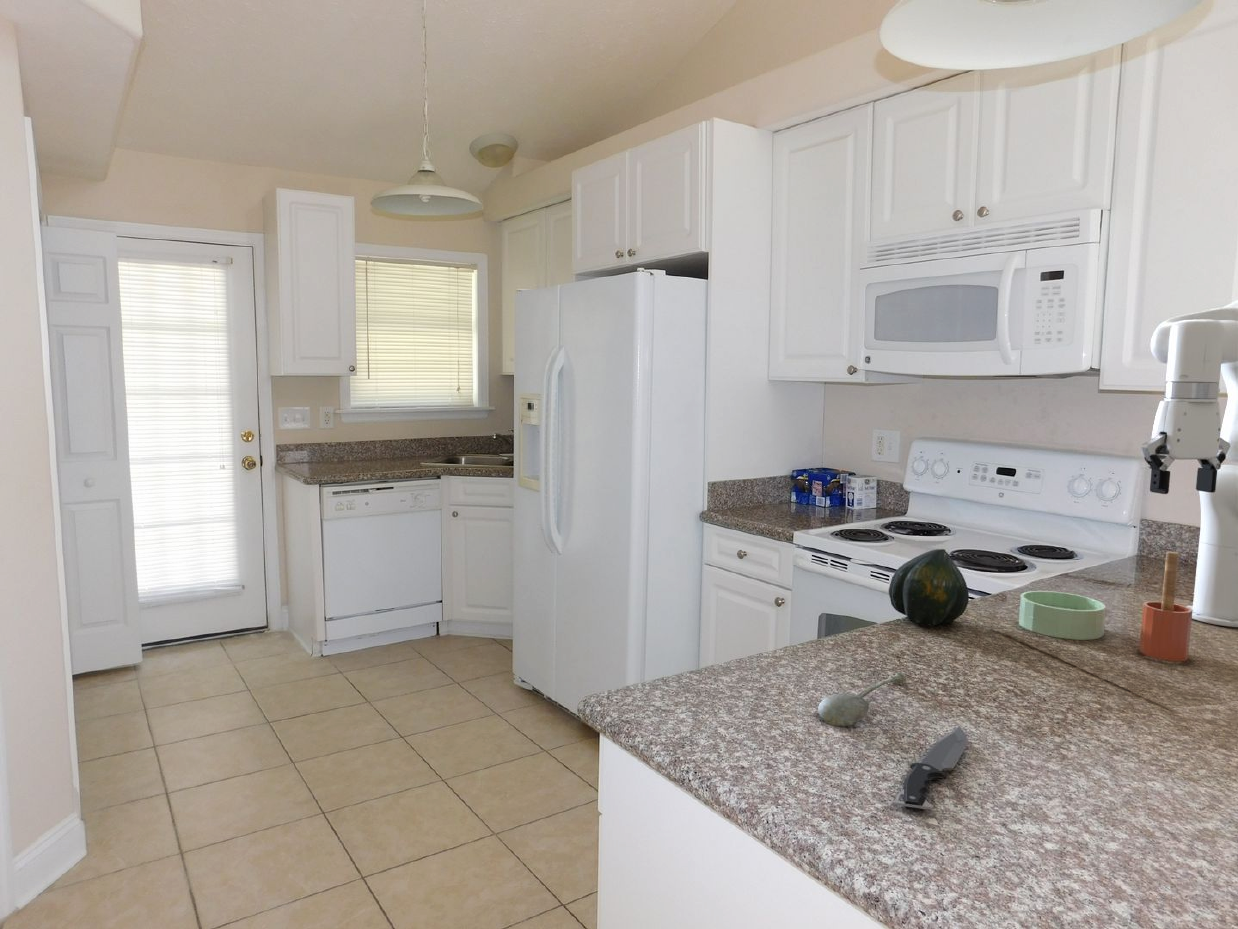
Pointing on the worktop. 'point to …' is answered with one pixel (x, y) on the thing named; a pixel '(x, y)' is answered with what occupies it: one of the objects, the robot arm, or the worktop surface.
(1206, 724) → the worktop surface
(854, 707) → the soupspoon
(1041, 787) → the worktop surface
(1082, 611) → the bowl
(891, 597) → the squash
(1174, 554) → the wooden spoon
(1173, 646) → the crock
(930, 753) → the knife
